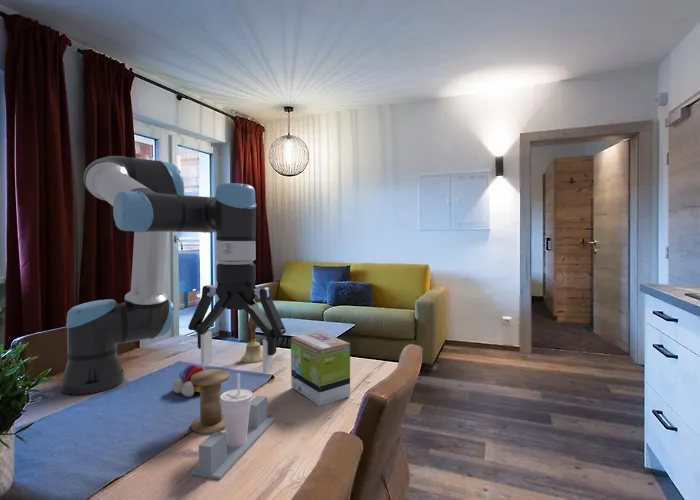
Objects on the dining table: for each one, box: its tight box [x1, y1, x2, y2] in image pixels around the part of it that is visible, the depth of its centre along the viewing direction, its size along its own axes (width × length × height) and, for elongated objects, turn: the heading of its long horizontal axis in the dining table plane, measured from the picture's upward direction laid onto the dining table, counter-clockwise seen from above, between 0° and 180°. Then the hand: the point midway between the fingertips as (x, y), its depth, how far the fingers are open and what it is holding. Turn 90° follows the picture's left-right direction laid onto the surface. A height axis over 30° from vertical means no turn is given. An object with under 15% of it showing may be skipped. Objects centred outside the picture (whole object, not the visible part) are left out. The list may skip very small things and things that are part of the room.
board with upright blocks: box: [189, 395, 275, 480], centre depth 78 cm, size 6×22×6 cm, turn 166°
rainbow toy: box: [171, 363, 205, 398], centre depth 106 cm, size 8×10×7 cm
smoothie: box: [220, 372, 254, 447], centre depth 78 cm, size 6×6×14 cm
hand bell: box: [240, 315, 263, 364], centre depth 133 cm, size 8×8×16 cm
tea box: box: [290, 331, 351, 407], centre depth 105 cm, size 15×10×15 cm, turn 37°
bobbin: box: [191, 368, 230, 435], centre depth 87 cm, size 8×8×11 cm
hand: (236, 367), depth 78 cm, fingers open, 13 cm apart
